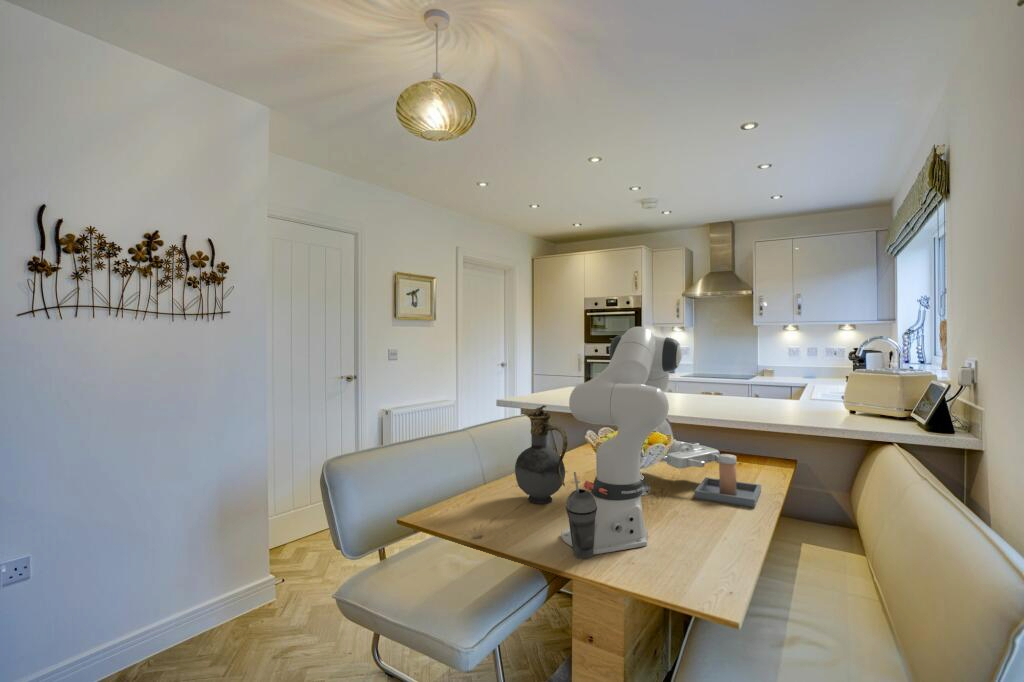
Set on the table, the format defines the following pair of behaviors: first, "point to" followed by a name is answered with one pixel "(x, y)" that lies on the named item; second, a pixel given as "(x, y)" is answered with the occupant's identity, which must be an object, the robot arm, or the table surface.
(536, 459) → the pitcher
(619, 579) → the table surface
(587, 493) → the beverage cup
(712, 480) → the tray
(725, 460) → the shaker
